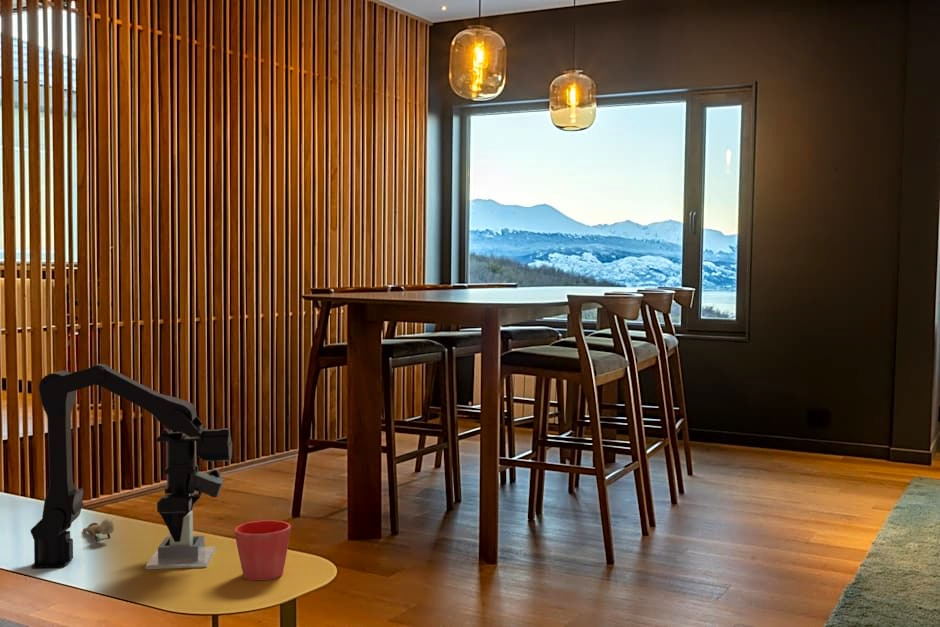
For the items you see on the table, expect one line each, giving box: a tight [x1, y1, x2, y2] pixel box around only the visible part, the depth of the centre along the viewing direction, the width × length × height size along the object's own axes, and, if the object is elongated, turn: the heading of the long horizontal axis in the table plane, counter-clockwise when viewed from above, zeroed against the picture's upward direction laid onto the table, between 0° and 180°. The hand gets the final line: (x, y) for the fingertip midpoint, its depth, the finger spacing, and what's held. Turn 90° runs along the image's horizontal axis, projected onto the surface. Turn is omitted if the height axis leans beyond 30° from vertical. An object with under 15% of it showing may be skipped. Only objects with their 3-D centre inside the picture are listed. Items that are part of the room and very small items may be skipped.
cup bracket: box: [145, 535, 217, 570], centre depth 195 cm, size 12×12×4 cm
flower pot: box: [234, 519, 292, 581], centre depth 185 cm, size 11×11×10 cm
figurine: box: [82, 518, 115, 541], centre depth 212 cm, size 4×4×15 cm
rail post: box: [169, 511, 194, 546], centre depth 195 cm, size 4×4×9 cm
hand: (181, 535), depth 195 cm, fingers open, 9 cm apart
